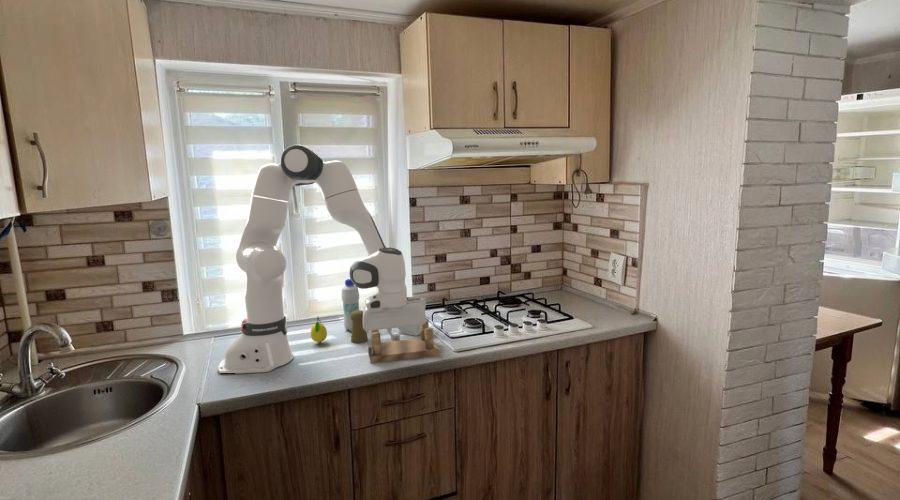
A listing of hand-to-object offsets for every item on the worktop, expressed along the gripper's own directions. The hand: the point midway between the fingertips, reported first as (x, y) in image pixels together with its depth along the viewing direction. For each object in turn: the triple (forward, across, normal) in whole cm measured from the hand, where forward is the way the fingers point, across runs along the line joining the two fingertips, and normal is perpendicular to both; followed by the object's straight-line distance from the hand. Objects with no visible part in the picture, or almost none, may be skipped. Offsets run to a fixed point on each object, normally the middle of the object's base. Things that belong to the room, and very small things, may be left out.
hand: (395, 340), depth 152 cm
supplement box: (+6, -9, -23) cm, 25 cm away
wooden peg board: (+6, -2, -4) cm, 7 cm away
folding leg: (+3, +6, -2) cm, 7 cm away
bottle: (+6, +13, -33) cm, 36 cm away
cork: (+6, +11, -20) cm, 24 cm away
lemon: (+6, +25, -22) cm, 34 cm away
